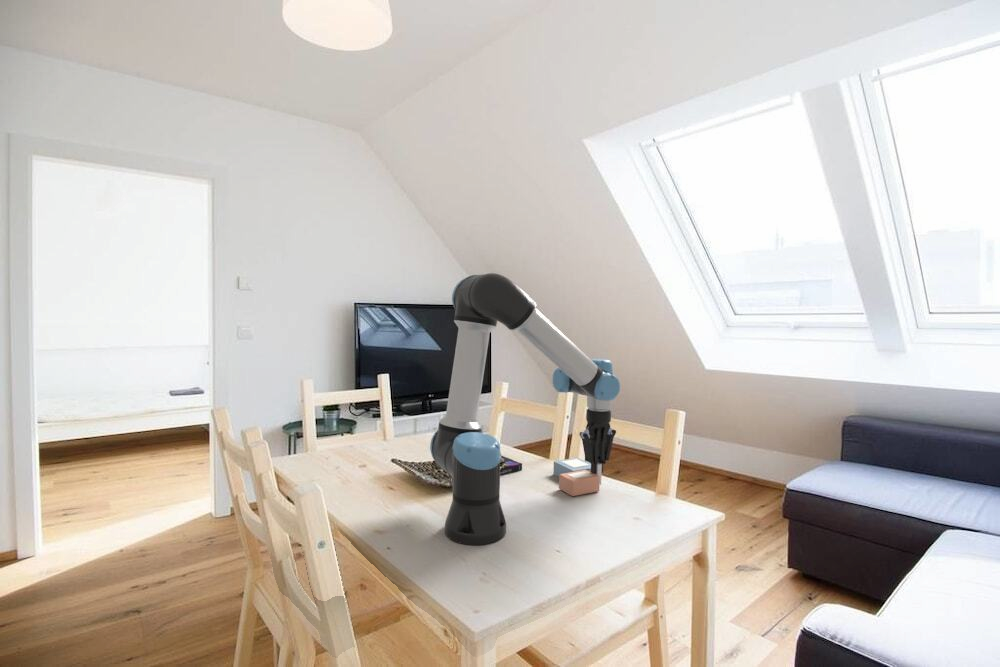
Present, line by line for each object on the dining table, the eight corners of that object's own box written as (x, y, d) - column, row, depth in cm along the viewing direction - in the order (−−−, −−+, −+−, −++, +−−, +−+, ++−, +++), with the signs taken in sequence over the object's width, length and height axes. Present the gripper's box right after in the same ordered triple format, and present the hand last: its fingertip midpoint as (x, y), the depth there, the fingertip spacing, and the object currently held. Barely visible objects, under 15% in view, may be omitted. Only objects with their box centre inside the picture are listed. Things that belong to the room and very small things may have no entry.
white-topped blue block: (599, 481, 162) (600, 467, 162) (574, 485, 157) (575, 471, 157) (577, 470, 173) (577, 457, 172) (553, 474, 168) (553, 460, 168)
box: (476, 484, 159) (522, 472, 171) (476, 474, 159) (522, 462, 171) (452, 472, 170) (497, 461, 182) (452, 462, 170) (498, 451, 182)
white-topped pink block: (599, 491, 152) (599, 475, 152) (572, 496, 148) (573, 480, 147) (585, 483, 159) (585, 469, 158) (559, 488, 154) (559, 473, 154)
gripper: (607, 405, 161) (604, 477, 163) (574, 408, 155) (572, 482, 156) (623, 409, 155) (620, 484, 156) (589, 412, 149) (587, 490, 150)
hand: (596, 483), depth 156 cm, fingers closed
